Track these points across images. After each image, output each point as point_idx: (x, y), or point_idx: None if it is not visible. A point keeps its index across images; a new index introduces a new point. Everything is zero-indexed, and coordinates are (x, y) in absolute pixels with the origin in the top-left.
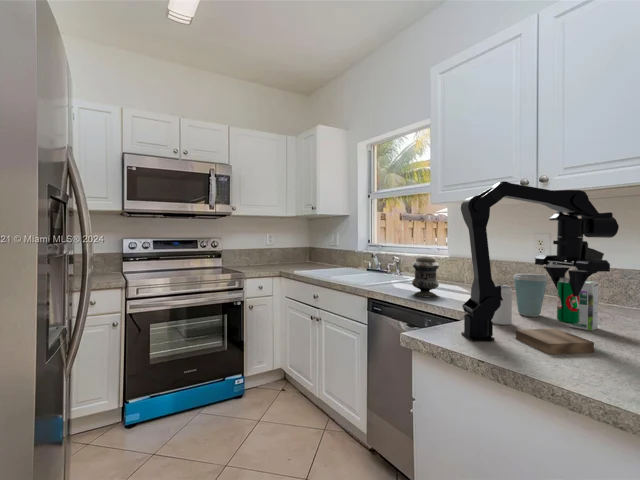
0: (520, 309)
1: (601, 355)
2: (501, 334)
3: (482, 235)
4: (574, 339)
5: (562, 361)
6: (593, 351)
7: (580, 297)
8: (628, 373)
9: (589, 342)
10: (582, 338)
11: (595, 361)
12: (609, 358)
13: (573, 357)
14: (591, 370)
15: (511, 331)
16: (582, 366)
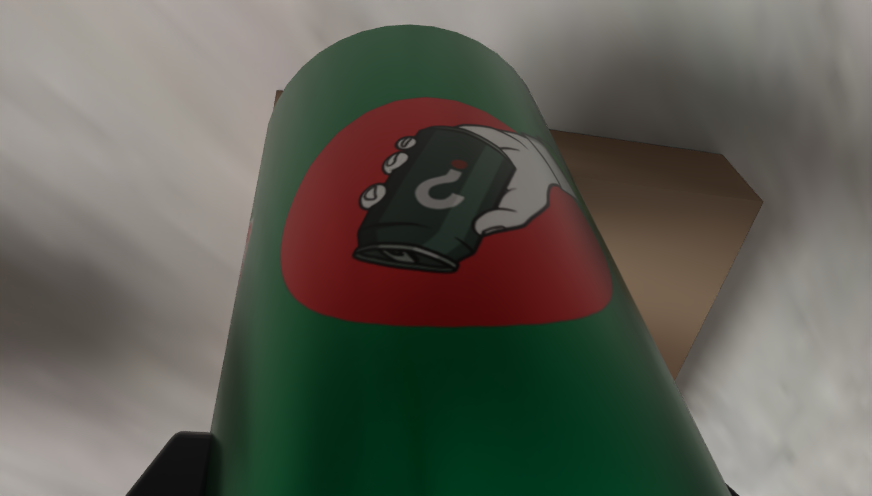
0: None
1: (787, 162)
2: (109, 452)
3: None
4: (630, 287)
5: None
6: (723, 160)
7: None
8: None
9: (742, 242)
10: (646, 196)
11: (813, 307)
12: (850, 168)
13: (698, 368)
14: (854, 432)
15: (13, 334)
16: (801, 430)
